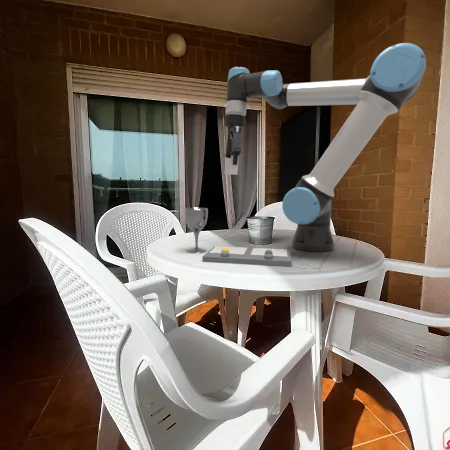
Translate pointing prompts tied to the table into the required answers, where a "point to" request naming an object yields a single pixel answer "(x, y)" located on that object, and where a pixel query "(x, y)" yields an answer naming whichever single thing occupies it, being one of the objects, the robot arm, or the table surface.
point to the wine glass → (196, 224)
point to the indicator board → (249, 256)
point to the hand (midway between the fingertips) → (230, 174)
